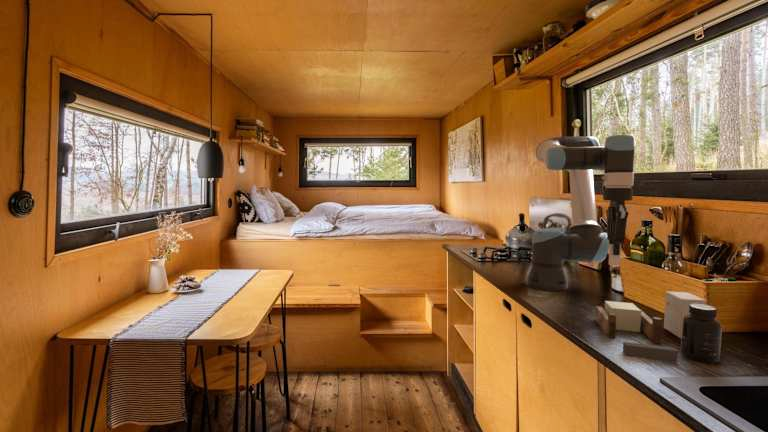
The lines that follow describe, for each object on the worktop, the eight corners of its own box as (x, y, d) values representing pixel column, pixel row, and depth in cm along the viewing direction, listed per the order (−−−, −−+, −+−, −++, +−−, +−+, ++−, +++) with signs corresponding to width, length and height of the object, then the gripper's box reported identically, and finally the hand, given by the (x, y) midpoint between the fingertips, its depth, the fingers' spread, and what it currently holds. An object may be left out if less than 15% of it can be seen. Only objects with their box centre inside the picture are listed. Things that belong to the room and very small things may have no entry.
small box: (704, 340, 94) (707, 300, 93) (680, 339, 95) (682, 299, 94) (686, 329, 102) (688, 292, 101) (663, 327, 103) (665, 290, 102)
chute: (595, 319, 109) (596, 299, 109) (640, 323, 105) (641, 303, 105) (608, 337, 96) (609, 314, 95) (660, 343, 92) (662, 319, 92)
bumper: (622, 352, 87) (623, 341, 87) (673, 358, 84) (673, 347, 84) (625, 355, 85) (626, 345, 85) (677, 362, 82) (677, 351, 82)
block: (603, 320, 108) (604, 300, 108) (631, 323, 106) (632, 303, 106) (610, 329, 102) (611, 308, 101) (640, 332, 100) (641, 310, 99)
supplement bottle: (672, 351, 87) (675, 301, 87) (699, 350, 88) (702, 301, 87) (699, 365, 81) (702, 311, 80) (728, 364, 81) (732, 310, 80)
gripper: (598, 187, 118) (595, 260, 119) (609, 187, 105) (606, 268, 107) (625, 187, 115) (621, 262, 117) (640, 187, 103) (636, 270, 104)
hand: (614, 265), depth 112 cm, fingers closed
